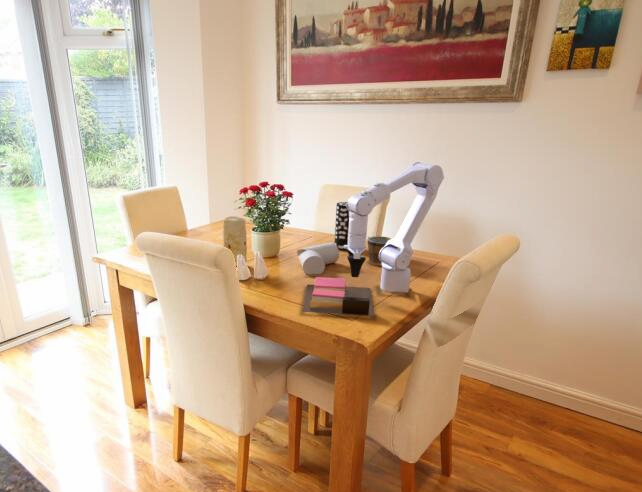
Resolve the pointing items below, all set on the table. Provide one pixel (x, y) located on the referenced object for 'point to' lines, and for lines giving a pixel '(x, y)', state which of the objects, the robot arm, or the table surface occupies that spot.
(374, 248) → the ceramic cup
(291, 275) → the table surface
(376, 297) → the table surface
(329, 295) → the cake slice
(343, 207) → the spotted tube
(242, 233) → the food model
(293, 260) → the table surface
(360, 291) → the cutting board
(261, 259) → the shaker set
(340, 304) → the grey and black bar
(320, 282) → the cake
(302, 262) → the bent grey cylinder
